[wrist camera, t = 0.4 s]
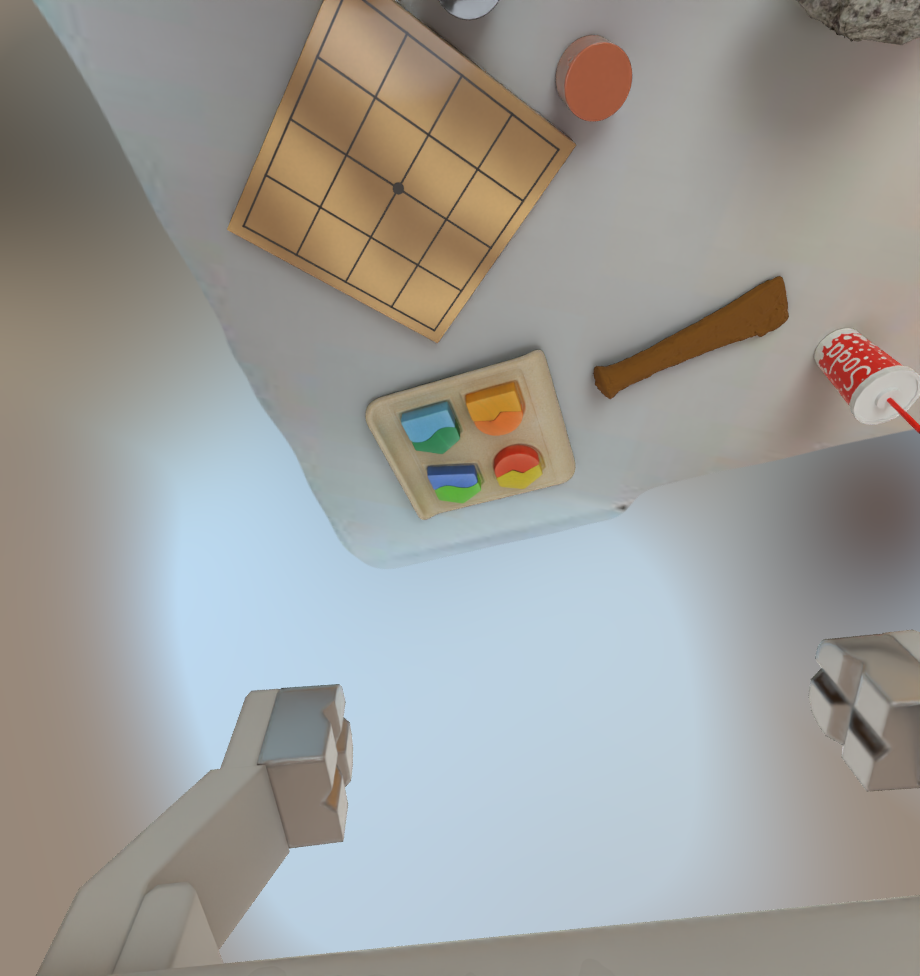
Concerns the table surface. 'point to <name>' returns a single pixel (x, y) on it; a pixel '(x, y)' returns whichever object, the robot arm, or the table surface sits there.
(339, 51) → the go board
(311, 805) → the robot arm
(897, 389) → the beverage cup
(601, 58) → the clay cylinder
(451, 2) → the black stone
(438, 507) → the puzzle board
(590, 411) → the table surface
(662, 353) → the primitive tool
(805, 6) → the concrete fragment
